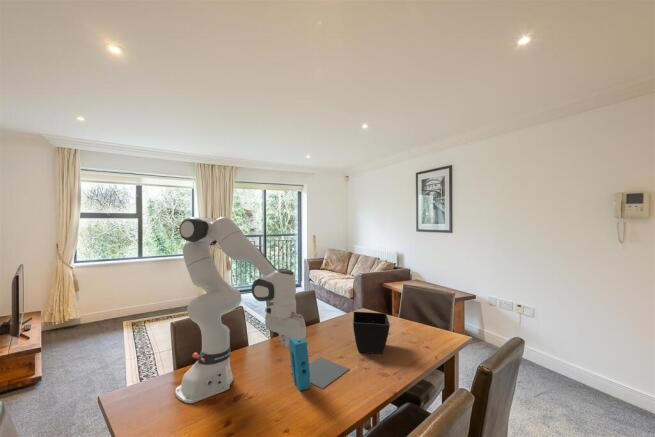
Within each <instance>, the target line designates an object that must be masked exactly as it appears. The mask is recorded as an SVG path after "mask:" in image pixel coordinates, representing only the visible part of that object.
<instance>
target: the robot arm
mask: <svg viewBox="0 0 655 437" xmlns="http://www.w3.org/2000/svg"><path fill="white" fill-rule="evenodd" d="M179 235H180V237H181V239H183V240H184V241H186V242H185V243H184V244H183V246H182V255H183V260H184V262H185V263H184V264H185V266H186V270H187V272H188V274H189V277H190V279H191V282H192V283H193V285H194V286H196V287H198V288H200V289H202V290H203V291H205V293H203V294H199V295H198V296H196V297H195V298H193V299H192V300H190V301H189V302H188V305H187V316H188V318H189V319H190V320H191V321H192V322H193V323H195V324H197V325H198V327H199V330H200V334H201V350H200V353H198V352H197V351H196V352H193V353H192V358H194V359H197V360H196V362H195V363H194V364H193V365H192V366H190V368H189V369H188V370H187V371H186V372H185V373H184V374H183V376H182V379H181V384H180V385H178V386H177V387H175V390H174V394H175V397H176V398H177V399H179V400H180V401H181V402H183V403H186V404H194V403H197V402H199V401H202V400H205V399H208V398H209V397H212V396H215V395H217V394H221V393H223V392H225V391H227V390H229V389H230V387H231V384H232V382H233V380H234V376H233V374H232V369H231V359H230V358H231V345H230V331H231V330H230V328H229V327H228V326H227V325H225V324H224V323H223V322H222V316H223V315H226V314H228V313H230V312H232V311H234V310H235V309H236V308H238V307H239V306H240V304H241V303H242V294H241V292H240V290H239V289H238V288H236V287H234V286H232V285H231V284H229V282H227V281H226V280H225V279H224V278H223V277H222V275H221V274H220V271H219V270H218V267H217V265H216V263H215V260H214V258H213V256H212V254H211V251H210V246H215V245H216V244H218V246H219V248H220V249H221V251H223V253H224V254H225V255H226V256H227V257H228V258H230V259H233V260H237V261H243V262H246V263H249V264H252V266H254V267H255V269H256V270H257V271H258V272H259V273H260V274H261V275H262V277H261V276H260V277H258V278H257V279H255V280H254V281H253V282H252V285H251V294H252V296H253V298H254V299H255V300H256V301H258V302H268V301H269V302H270V301H272V302H273V304H272V305H269V306H266V307H264V308H265V309H264V311H265V318H264V324H265V329H266V330H268V331H271V332H274V333H277V334H278V337H279V339H280V345H281V346H284V347H289V341H290V339H291V338H294V339H297V340H302V339H304V338H306V337H307V328H306V322H305V318H304V316H303V315H302V314H300V313H297V299H296V292H297V283H296V282H297V281H296V276H295V274H294V272H293V271H292V270H290V269H287V268H276V266H275V265H273V264H272V262H271V261H270V260H269V259H268V257H266V255H265V254H264V253H263V252H262V251H261V250H260V249H259V248H258V247H257V245H255V244H253V243H252V242H251V240H250V239H249V237H247V236H246V235H245V234H244V232H243V230H242V229H241V228H240V227H239V225H237V224H236V222H234V220H233V219H231V218H230V217H228V216H220V217H218V218H211V217H196V216H192V217H191V216H190V217H187V218H185V219H184V220H182V221H181V223H180V225H179Z"/></svg>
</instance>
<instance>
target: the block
mask: <svg viewBox="0 0 655 437" xmlns="http://www.w3.org/2000/svg"><path fill="white" fill-rule="evenodd" d="M305 338H306V337H305ZM305 338H304V339H302V340H297V339H294V338H291V339H290V341H289V346H288V347H289V348H288V349H289V356H290V357H289V358H290V365H291V366H290V367H291V372H292V373H291V375H292V374H293V375H292V379H293V383H294V385H296V388H297V390H298V392H301V391H304V390H307V389H309V388H310V387H311V383H310V370H309V363H310V362H309V353H308V352H309V351H308V340H306V339H305Z"/></svg>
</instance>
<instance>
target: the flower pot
mask: <svg viewBox="0 0 655 437" xmlns="http://www.w3.org/2000/svg"><path fill="white" fill-rule="evenodd" d="M352 315H353V317H352V325H353V334H354V339H355V344H356V348H357V351H358V353H363V354H364V353H365V354H380V355H382V354H383V353H384V350H385V347H386V344H387V341H388V336H389V332H390V326H391V324H390V321H389V318H388V315H387V313H385V312H370V311H369V312H366V311H353V314H352Z"/></svg>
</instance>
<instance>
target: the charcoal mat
mask: <svg viewBox="0 0 655 437" xmlns="http://www.w3.org/2000/svg"><path fill="white" fill-rule="evenodd" d="M309 370H310V385H313V386H314V387H317V388H320V389H321V390H324V389H325V388H326V387H328V386H330V385H331V384H332V383H334V382H335V381H336V380H337V379H339V378H341V377H342V376H343V375H345V374H346V373H347V372H349V371H351V369H350V368H349V367H346V366H344V365H341V364H339V363H337V362H334V361H331V360H329V359H326V358H324V357H321V356H320V357H318V358H316V359H314V360H313V361H311V362H309ZM291 375H292V376H293V374H292V373H291Z"/></svg>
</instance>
